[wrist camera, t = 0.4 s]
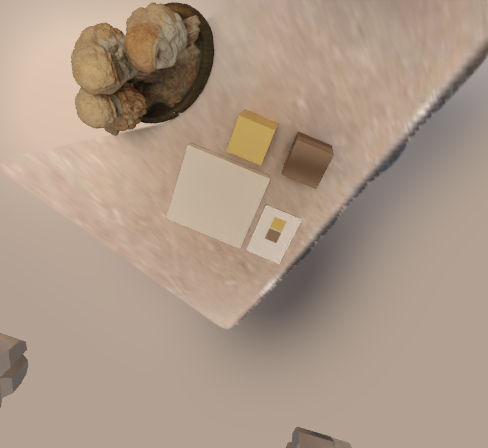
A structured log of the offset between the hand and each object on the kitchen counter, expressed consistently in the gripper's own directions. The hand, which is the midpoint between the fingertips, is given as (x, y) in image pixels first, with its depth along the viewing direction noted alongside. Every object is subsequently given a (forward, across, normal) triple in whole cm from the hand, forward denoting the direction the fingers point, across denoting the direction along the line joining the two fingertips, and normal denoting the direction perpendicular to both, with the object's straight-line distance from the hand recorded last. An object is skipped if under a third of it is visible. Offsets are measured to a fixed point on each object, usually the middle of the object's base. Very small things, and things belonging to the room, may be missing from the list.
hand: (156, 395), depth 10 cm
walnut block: (+44, -5, +4) cm, 45 cm away
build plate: (+44, +6, +14) cm, 47 cm away
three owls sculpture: (+45, +17, -2) cm, 48 cm away
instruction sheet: (+44, -4, +18) cm, 48 cm away
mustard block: (+44, +3, +3) cm, 45 cm away
